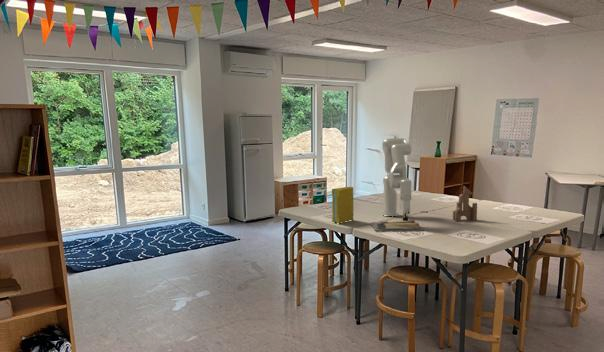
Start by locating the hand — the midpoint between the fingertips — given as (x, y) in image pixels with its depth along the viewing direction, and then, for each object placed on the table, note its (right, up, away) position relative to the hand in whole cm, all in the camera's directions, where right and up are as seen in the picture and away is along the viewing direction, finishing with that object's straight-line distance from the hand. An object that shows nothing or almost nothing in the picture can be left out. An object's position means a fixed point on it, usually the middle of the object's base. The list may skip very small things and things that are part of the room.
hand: (405, 223), depth 283 cm
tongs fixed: (-8, -2, -9) cm, 12 cm away
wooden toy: (+47, 0, +14) cm, 49 cm away
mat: (-7, -2, -3) cm, 8 cm away
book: (-41, -1, +17) cm, 44 cm away
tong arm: (-8, -2, -6) cm, 10 cm away
